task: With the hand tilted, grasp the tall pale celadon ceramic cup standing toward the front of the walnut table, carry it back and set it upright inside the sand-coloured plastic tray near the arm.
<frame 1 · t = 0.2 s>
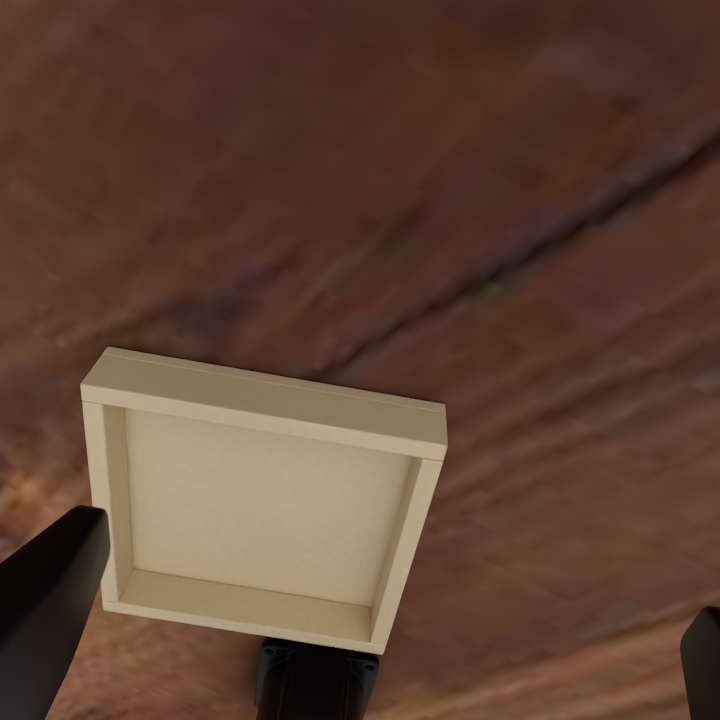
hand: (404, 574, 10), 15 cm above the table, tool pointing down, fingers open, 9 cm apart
tray: (264, 494, 30), on the table
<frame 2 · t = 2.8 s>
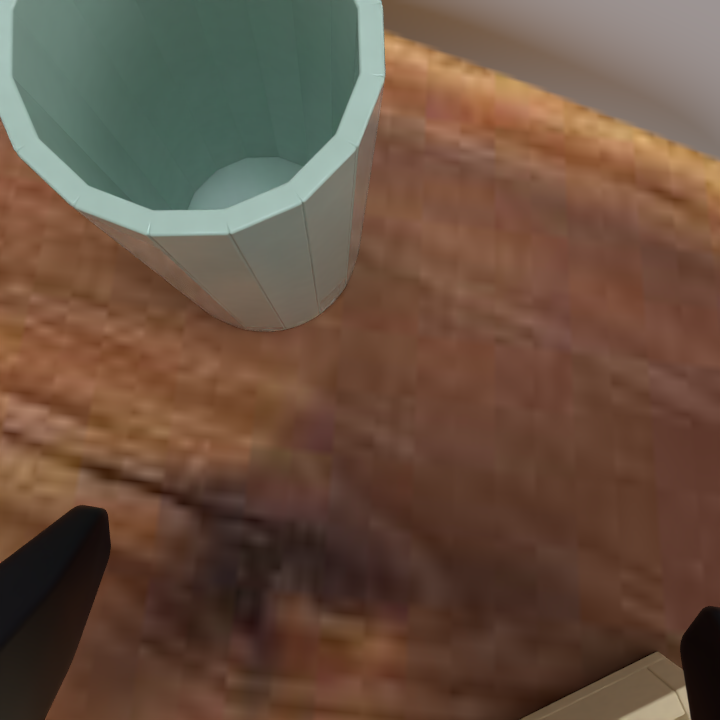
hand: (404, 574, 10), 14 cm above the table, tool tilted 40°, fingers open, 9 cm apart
cup: (266, 241, 24), on the table
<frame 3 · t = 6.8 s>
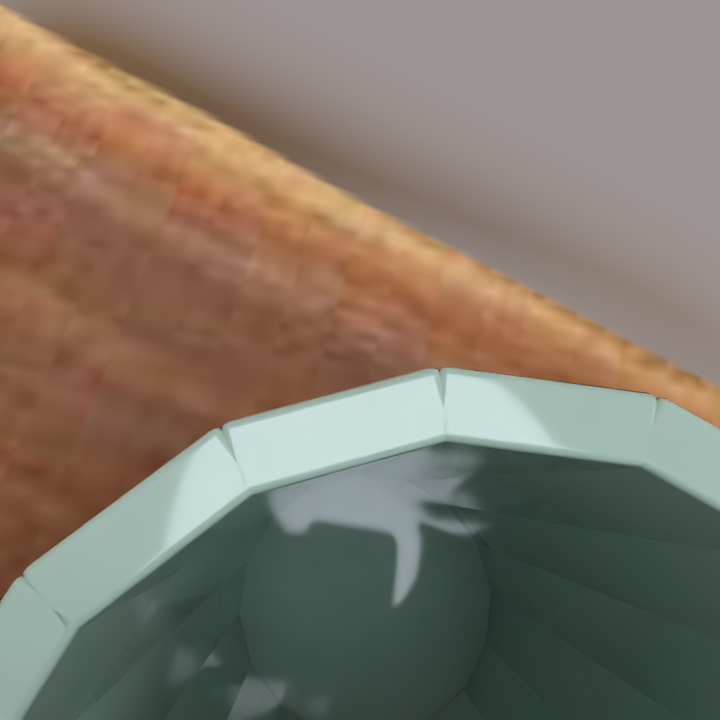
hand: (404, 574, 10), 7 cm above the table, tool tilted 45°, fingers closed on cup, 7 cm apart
cup: (365, 597, 16), on the table, touching gripper
when the fingers open (7 cm above the table, at t = 15.1 s): cup stays where it is, resting on tray.
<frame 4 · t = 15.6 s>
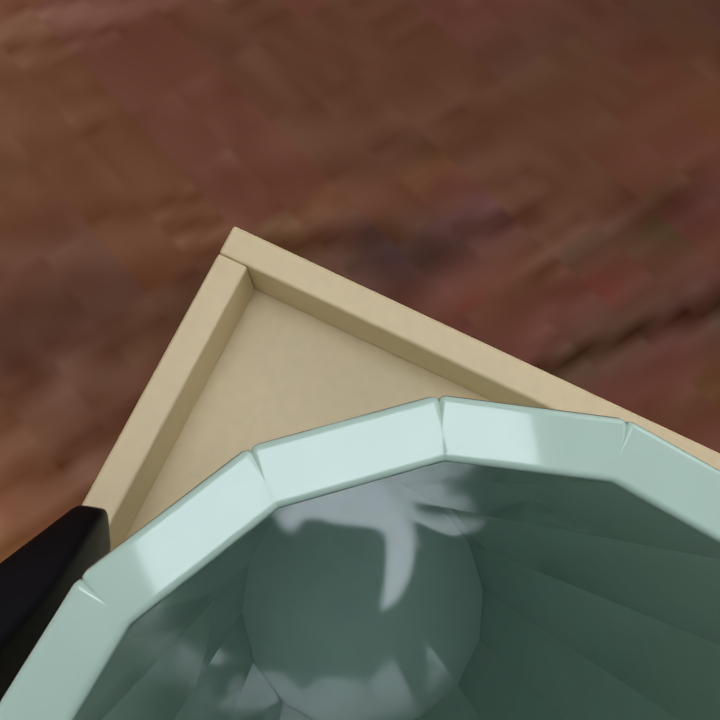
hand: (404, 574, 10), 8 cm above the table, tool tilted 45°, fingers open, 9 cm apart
tray: (359, 590, 17), on the table
cup: (362, 596, 17), point 1 cm above the table, touching tray
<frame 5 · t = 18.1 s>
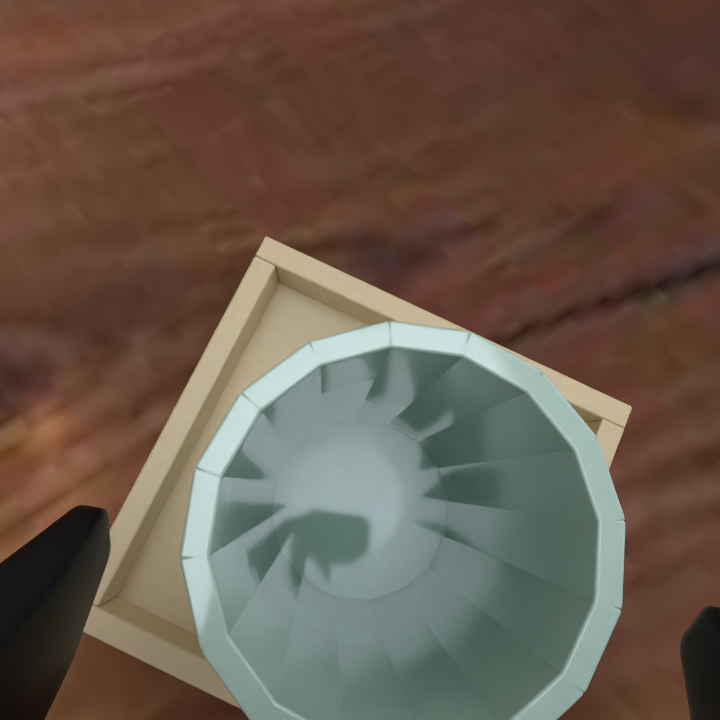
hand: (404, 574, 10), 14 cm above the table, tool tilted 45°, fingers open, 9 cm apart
tray: (357, 505, 23), on the table
cup: (359, 507, 23), point 1 cm above the table, touching tray
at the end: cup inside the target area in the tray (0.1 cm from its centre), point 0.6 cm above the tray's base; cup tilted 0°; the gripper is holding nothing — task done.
